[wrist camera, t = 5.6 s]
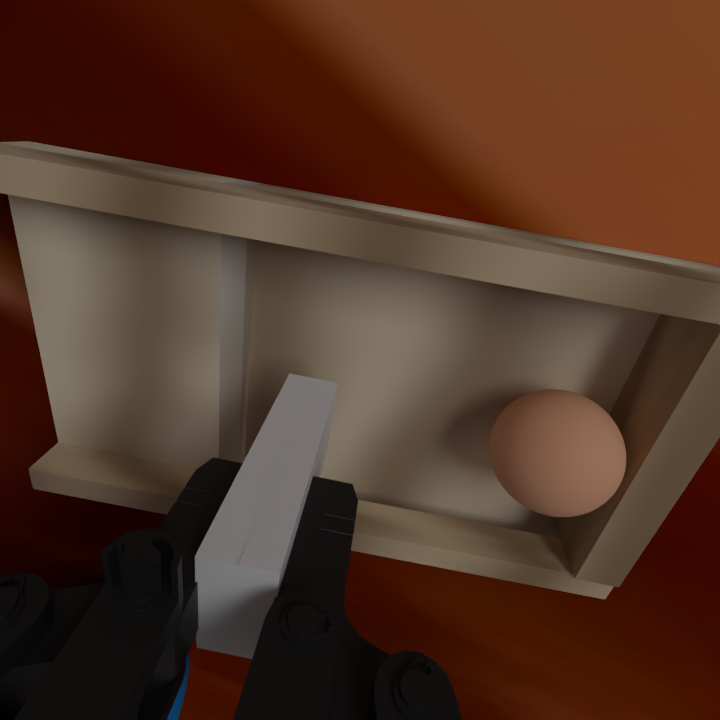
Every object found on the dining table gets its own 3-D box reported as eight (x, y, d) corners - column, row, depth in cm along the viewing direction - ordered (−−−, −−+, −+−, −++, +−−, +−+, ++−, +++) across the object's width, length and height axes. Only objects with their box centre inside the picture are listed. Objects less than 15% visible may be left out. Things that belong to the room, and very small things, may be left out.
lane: (81, 443, 19) (29, 492, 17) (28, 141, 14) (-62, 143, 11) (579, 538, 19) (607, 604, 16) (731, 268, 14) (810, 302, 11)
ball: (470, 518, 14) (602, 564, 13) (511, 417, 12) (670, 464, 11) (478, 442, 17) (584, 475, 17) (511, 354, 15) (633, 387, 15)
